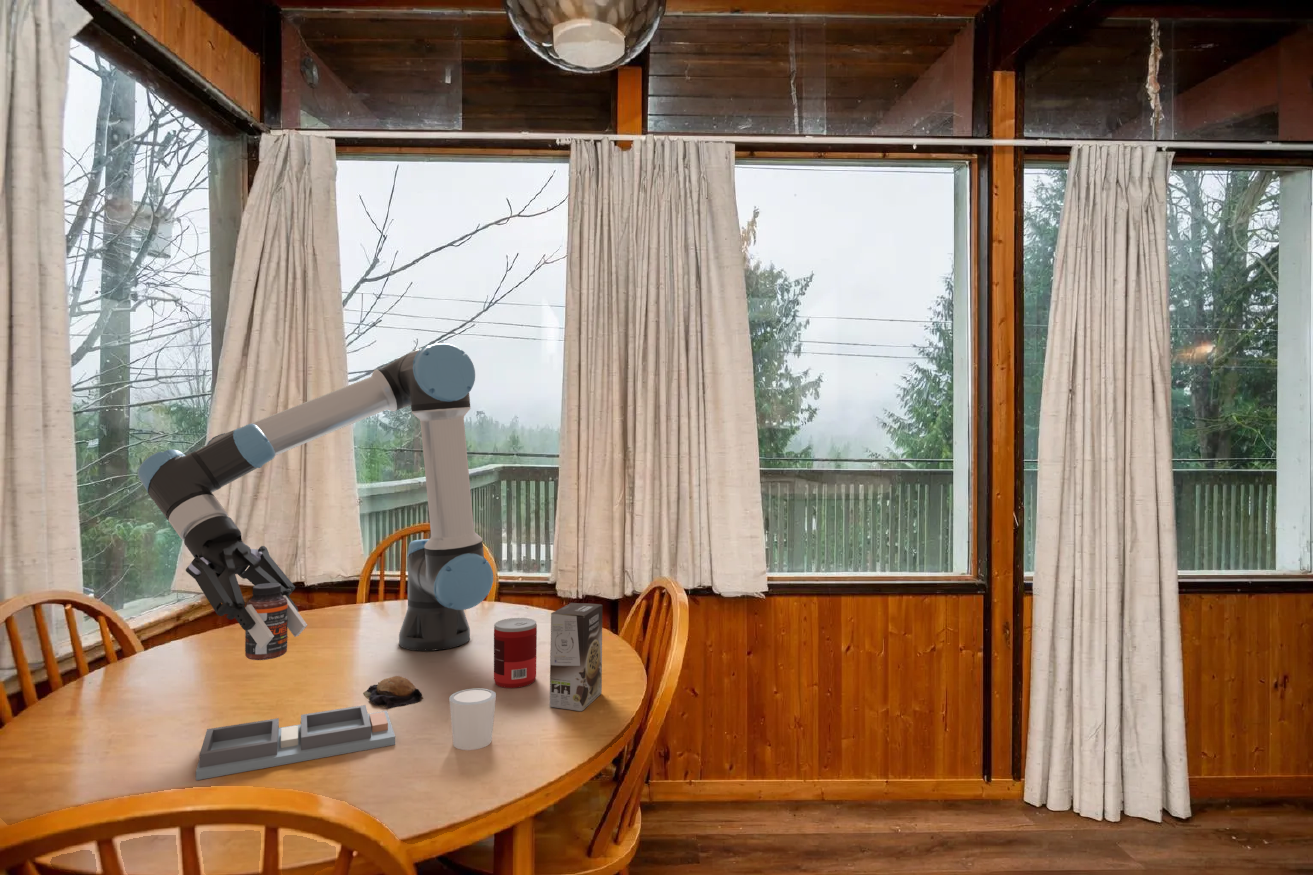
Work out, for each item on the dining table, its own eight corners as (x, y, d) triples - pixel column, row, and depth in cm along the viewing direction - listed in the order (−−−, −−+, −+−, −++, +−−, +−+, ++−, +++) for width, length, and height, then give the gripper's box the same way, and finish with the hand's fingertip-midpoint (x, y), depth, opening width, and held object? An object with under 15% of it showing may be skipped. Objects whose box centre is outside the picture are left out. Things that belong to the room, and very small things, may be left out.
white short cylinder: (453, 755, 102) (454, 706, 102) (444, 737, 108) (444, 691, 108) (501, 746, 105) (501, 699, 105) (489, 729, 111) (489, 684, 111)
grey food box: (583, 712, 118) (584, 615, 118) (548, 707, 120) (549, 612, 120) (603, 693, 127) (604, 603, 127) (570, 689, 129) (571, 600, 129)
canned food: (544, 677, 135) (544, 620, 135) (519, 691, 128) (519, 630, 128) (511, 671, 138) (511, 615, 138) (485, 684, 131) (485, 625, 131)
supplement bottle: (269, 662, 110) (268, 590, 110) (236, 660, 111) (235, 588, 111) (296, 651, 116) (295, 582, 116) (264, 648, 117) (264, 580, 117)
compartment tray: (386, 717, 115) (386, 699, 115) (395, 744, 105) (395, 724, 105) (205, 747, 104) (205, 727, 104) (195, 780, 94) (195, 757, 94)
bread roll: (359, 696, 126) (359, 676, 126) (406, 686, 131) (406, 666, 131) (380, 715, 118) (380, 692, 118) (429, 702, 123) (429, 681, 123)
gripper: (243, 536, 127) (316, 635, 122) (137, 553, 109) (218, 670, 104) (266, 507, 125) (342, 607, 120) (163, 520, 107) (246, 637, 102)
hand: (284, 636), depth 112 cm, fingers closed on supplement bottle, 6 cm apart
